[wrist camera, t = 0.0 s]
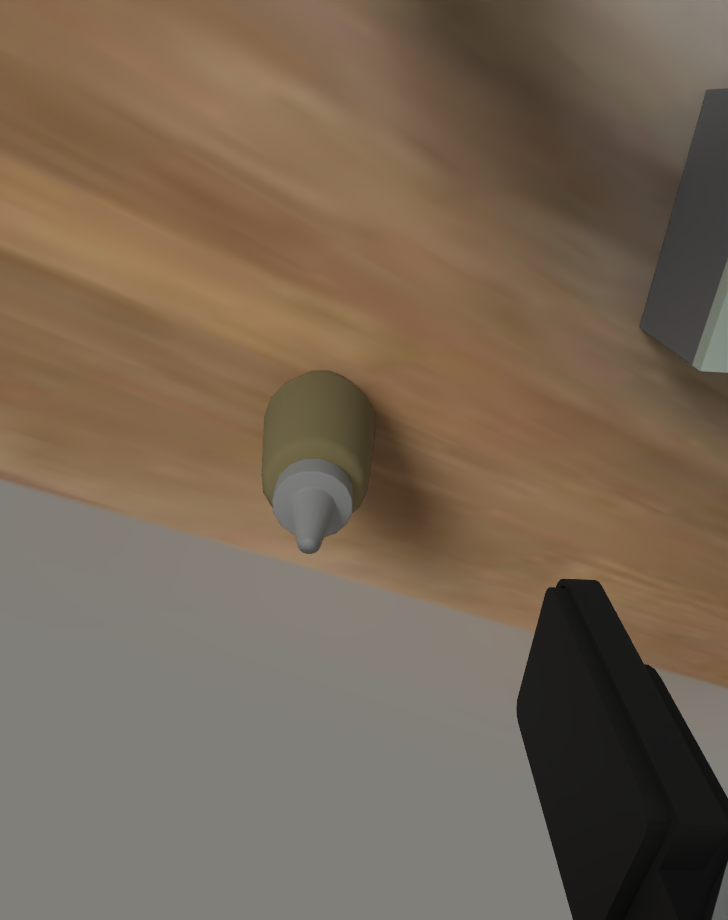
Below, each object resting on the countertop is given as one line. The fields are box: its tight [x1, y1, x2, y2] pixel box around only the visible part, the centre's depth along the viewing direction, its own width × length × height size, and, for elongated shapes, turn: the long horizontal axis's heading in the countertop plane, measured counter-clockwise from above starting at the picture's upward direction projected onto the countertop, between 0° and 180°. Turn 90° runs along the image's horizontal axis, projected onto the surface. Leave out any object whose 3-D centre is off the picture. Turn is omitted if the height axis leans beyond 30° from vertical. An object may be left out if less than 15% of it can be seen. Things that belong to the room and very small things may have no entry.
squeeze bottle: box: [262, 371, 375, 554], centre depth 40 cm, size 8×8×18 cm
